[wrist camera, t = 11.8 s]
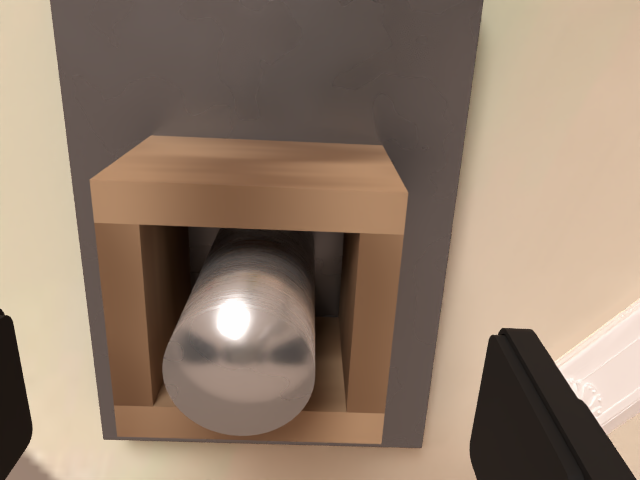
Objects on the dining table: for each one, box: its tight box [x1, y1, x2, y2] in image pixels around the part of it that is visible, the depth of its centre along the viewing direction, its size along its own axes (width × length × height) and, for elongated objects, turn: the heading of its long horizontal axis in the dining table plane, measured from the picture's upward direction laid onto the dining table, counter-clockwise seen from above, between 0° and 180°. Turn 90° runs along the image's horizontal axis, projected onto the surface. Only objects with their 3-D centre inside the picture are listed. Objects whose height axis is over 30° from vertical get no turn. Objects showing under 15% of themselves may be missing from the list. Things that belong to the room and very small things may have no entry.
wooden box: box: [90, 135, 408, 444], centre depth 16 cm, size 7×7×5 cm
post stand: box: [50, 0, 483, 448], centre depth 16 cm, size 12×16×8 cm
